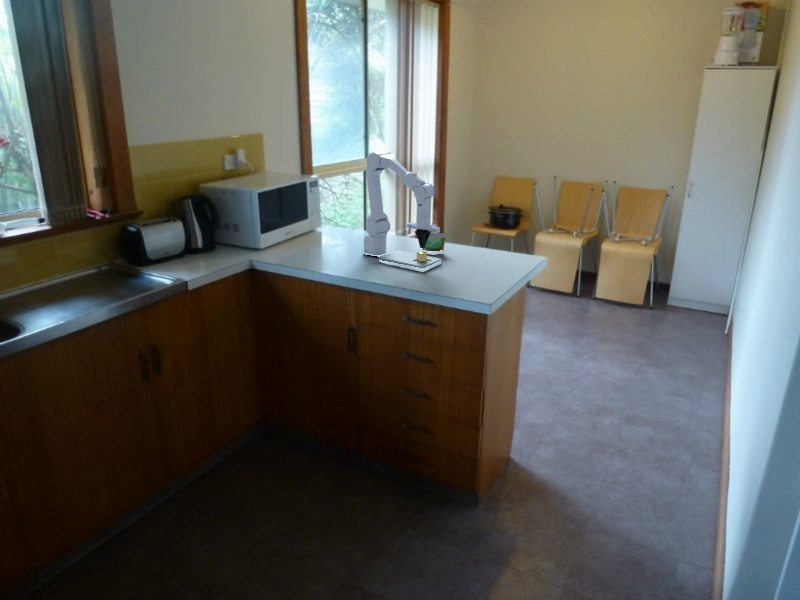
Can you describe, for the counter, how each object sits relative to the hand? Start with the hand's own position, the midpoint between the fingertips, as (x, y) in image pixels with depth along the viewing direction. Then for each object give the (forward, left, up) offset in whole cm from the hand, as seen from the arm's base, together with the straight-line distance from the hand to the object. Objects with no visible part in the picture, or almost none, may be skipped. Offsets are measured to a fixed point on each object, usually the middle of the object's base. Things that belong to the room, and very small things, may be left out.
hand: (422, 247), depth 240 cm
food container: (-7, +18, -8) cm, 21 cm away
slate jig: (-6, 0, -8) cm, 10 cm away
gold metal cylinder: (0, 0, -8) cm, 8 cm away
